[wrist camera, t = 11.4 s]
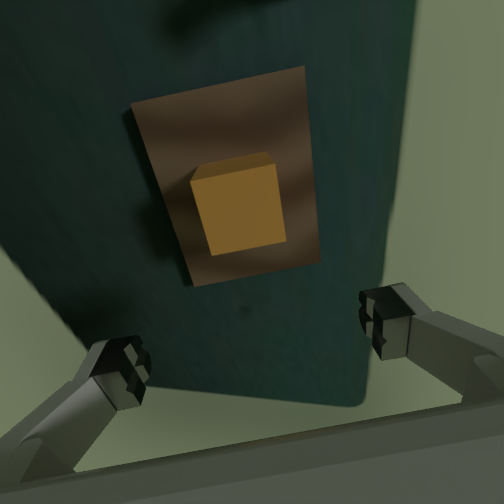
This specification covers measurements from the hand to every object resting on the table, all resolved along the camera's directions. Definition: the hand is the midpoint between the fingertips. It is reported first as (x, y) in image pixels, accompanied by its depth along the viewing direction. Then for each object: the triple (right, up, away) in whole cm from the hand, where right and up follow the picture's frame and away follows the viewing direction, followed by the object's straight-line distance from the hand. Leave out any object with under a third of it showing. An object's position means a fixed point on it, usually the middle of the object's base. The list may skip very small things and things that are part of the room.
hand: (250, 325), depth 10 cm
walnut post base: (-1, +9, +17) cm, 19 cm away
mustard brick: (-1, +8, +16) cm, 18 cm away
